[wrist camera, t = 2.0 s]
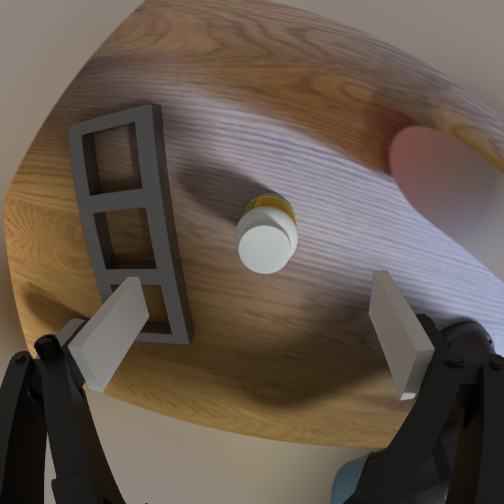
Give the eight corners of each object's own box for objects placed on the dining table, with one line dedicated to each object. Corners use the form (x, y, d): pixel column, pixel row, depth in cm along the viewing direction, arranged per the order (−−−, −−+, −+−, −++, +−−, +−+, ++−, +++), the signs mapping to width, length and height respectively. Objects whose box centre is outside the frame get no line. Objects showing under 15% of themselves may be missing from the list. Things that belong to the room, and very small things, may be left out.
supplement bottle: (284, 248, 33) (283, 292, 24) (237, 231, 33) (220, 269, 24) (302, 202, 31) (310, 231, 22) (253, 184, 31) (241, 206, 22)
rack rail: (160, 105, 28) (151, 103, 26) (194, 333, 39) (189, 344, 36) (79, 125, 30) (67, 126, 27) (122, 328, 40) (115, 338, 38)
